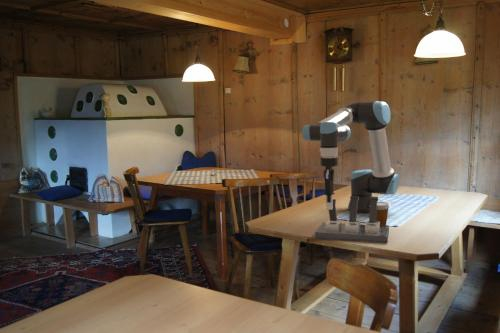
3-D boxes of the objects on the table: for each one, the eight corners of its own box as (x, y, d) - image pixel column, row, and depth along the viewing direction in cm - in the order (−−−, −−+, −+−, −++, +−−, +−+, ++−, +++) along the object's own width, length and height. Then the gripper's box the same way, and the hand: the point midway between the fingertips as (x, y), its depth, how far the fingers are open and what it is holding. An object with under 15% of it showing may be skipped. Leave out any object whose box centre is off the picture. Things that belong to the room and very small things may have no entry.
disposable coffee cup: (390, 230, 230) (390, 205, 228) (369, 229, 232) (369, 205, 230) (388, 225, 239) (388, 201, 238) (368, 224, 241) (369, 201, 240)
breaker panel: (322, 228, 237) (322, 216, 236) (389, 232, 226) (389, 219, 226) (315, 238, 220) (315, 225, 219) (387, 243, 210) (387, 229, 209)
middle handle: (348, 222, 223) (350, 198, 230) (356, 223, 222) (358, 198, 229) (348, 220, 221) (350, 195, 228) (356, 221, 220) (358, 196, 227)
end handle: (368, 223, 220) (369, 198, 227) (376, 224, 219) (378, 199, 226) (368, 221, 219) (369, 196, 225) (376, 222, 217) (377, 196, 224)
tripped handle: (329, 218, 227) (327, 199, 219) (337, 218, 226) (335, 199, 218) (329, 221, 225) (326, 202, 217) (337, 222, 224) (335, 202, 216)
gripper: (323, 155, 217) (323, 205, 220) (317, 158, 205) (318, 212, 208) (339, 155, 215) (339, 206, 218) (335, 158, 203) (335, 212, 206)
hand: (329, 209), depth 213 cm, fingers closed
